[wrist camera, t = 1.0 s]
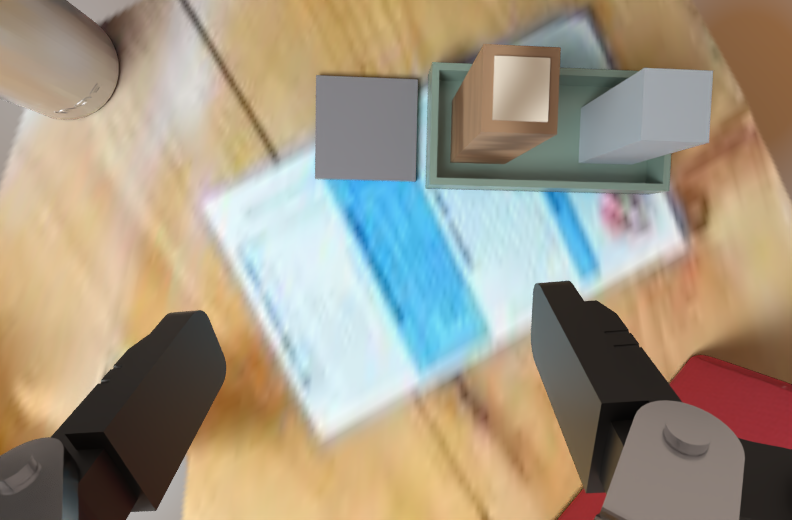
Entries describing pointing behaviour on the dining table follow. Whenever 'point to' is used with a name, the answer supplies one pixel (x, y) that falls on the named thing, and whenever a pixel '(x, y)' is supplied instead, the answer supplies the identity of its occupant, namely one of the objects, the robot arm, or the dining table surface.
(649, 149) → the plain box
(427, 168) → the parts bin
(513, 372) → the dining table surface
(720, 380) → the storage cube
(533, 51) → the label box
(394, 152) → the slate pad
